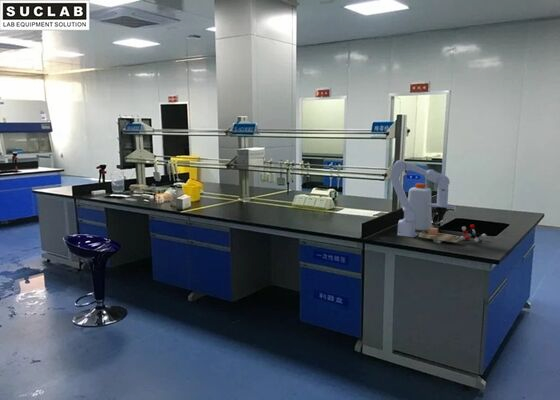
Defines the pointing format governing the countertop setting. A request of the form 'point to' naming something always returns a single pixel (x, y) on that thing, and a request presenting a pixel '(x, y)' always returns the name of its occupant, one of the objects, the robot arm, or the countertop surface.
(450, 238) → the wooden tray
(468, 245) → the countertop surface
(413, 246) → the countertop surface
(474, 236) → the molecular model
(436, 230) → the pink cube
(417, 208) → the plastic bottle
